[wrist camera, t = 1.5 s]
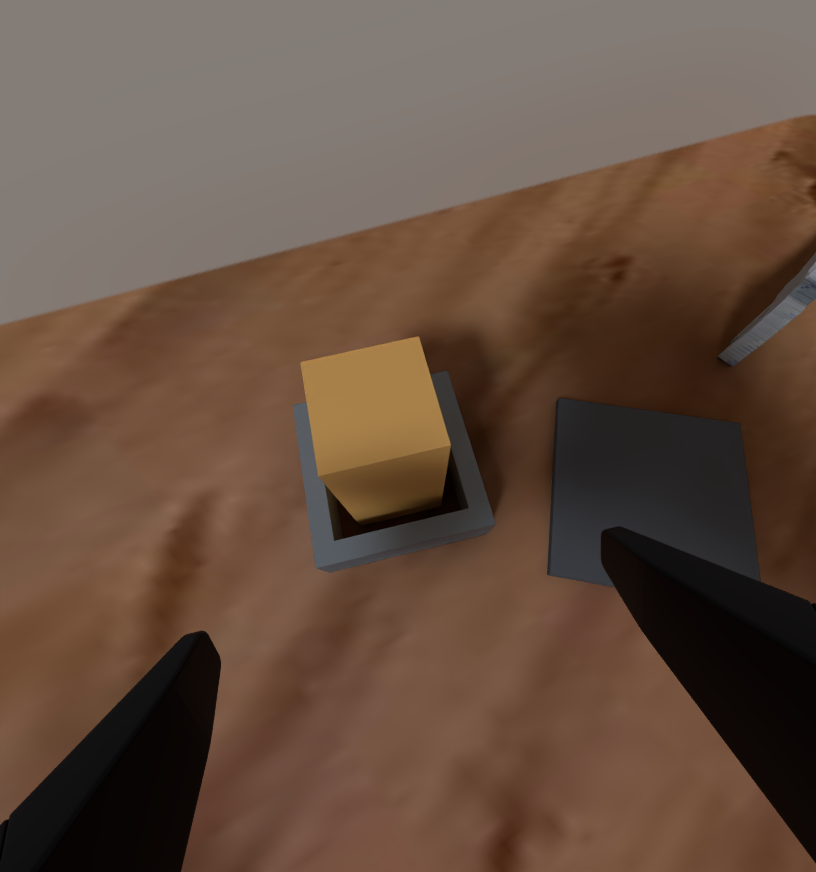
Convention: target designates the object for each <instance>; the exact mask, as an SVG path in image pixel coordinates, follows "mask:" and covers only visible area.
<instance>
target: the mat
mask: <svg viewBox="0 0 816 872" xmlns="http://www.w3.org/2000/svg"><path fill="white" fill-rule="evenodd" d="M616 526H621V527H624V528H626V529H629V530H631V531H634V532H637V533H639V534H642V535H644V536H647V537H649V538H652V539H654V540H657V541H659V542H662V543H664V544H667V545H669V546H672V547H674V548H677V549H679V550H682V551H684V552H687V553H689V554H692V555H694V556H697V557H699V558H702V559H704V560H707V561H710V562H712V563H715V564H717V565H720V566H722V567H725V568H727V569H730V570H732V571H735V572H737V573H740V574H742V575H745V576H747V577H750V578H752V579H755V580H757V581H760V582H761V580H760V572H759V565H758V557H757V549H756V542H755V534H754V526H753V518H752V511H751V503H750V495H749V487H748V480H747V472H746V464H745V456H744V449H743V441H742V433H741V426H740V423H735V422H728V421H721V420H714V419H707V418H699V417H692V416H685V415H678V414H671V413H663V412H656V411H649V410H642V409H635V408H628V407H620V406H613V405H606V404H599V403H592V402H584V401H577V400H570V399H563V398H559V399H558V400H557V402H556V419H555V438H554V457H553V476H552V495H551V514H550V533H549V552H548V571H547V575H551V576H556V577H562V578H567V579H572V580H578V581H583V582H589V583H594V584H600V585H605V586H611V587H615V586H614V585H613V583H612V581H611V580H610V578H609V576H608V575H607V573H606V571H605V570H604V568H603V565H602V563H601V532H602V531H603V530H605V529H608V528H612V527H616Z"/></svg>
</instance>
